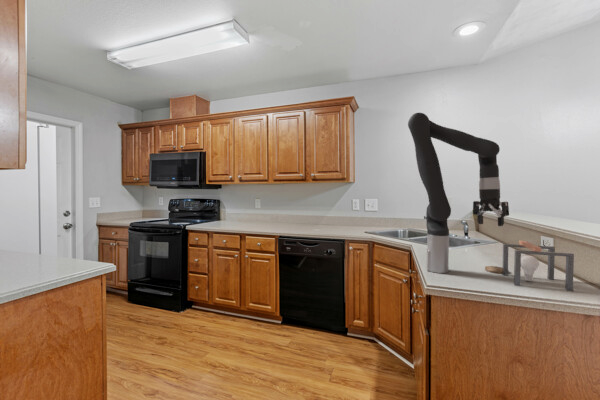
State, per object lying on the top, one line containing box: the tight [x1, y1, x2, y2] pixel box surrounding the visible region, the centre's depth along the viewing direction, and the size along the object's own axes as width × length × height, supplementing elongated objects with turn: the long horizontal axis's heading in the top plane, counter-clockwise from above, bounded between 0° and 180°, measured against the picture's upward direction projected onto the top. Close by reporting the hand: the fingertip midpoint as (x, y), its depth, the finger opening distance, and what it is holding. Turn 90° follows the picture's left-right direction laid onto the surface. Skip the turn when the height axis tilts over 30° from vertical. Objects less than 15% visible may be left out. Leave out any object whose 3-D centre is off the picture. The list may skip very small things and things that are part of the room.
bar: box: [518, 240, 542, 252], centre depth 116 cm, size 2×16×2 cm, turn 159°
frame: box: [501, 243, 575, 292], centre depth 116 cm, size 18×16×14 cm
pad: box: [484, 265, 503, 275], centre depth 132 cm, size 9×9×1 cm
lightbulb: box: [521, 254, 540, 282], centre depth 117 cm, size 6×6×11 cm
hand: (490, 225), depth 122 cm, fingers open, 8 cm apart
